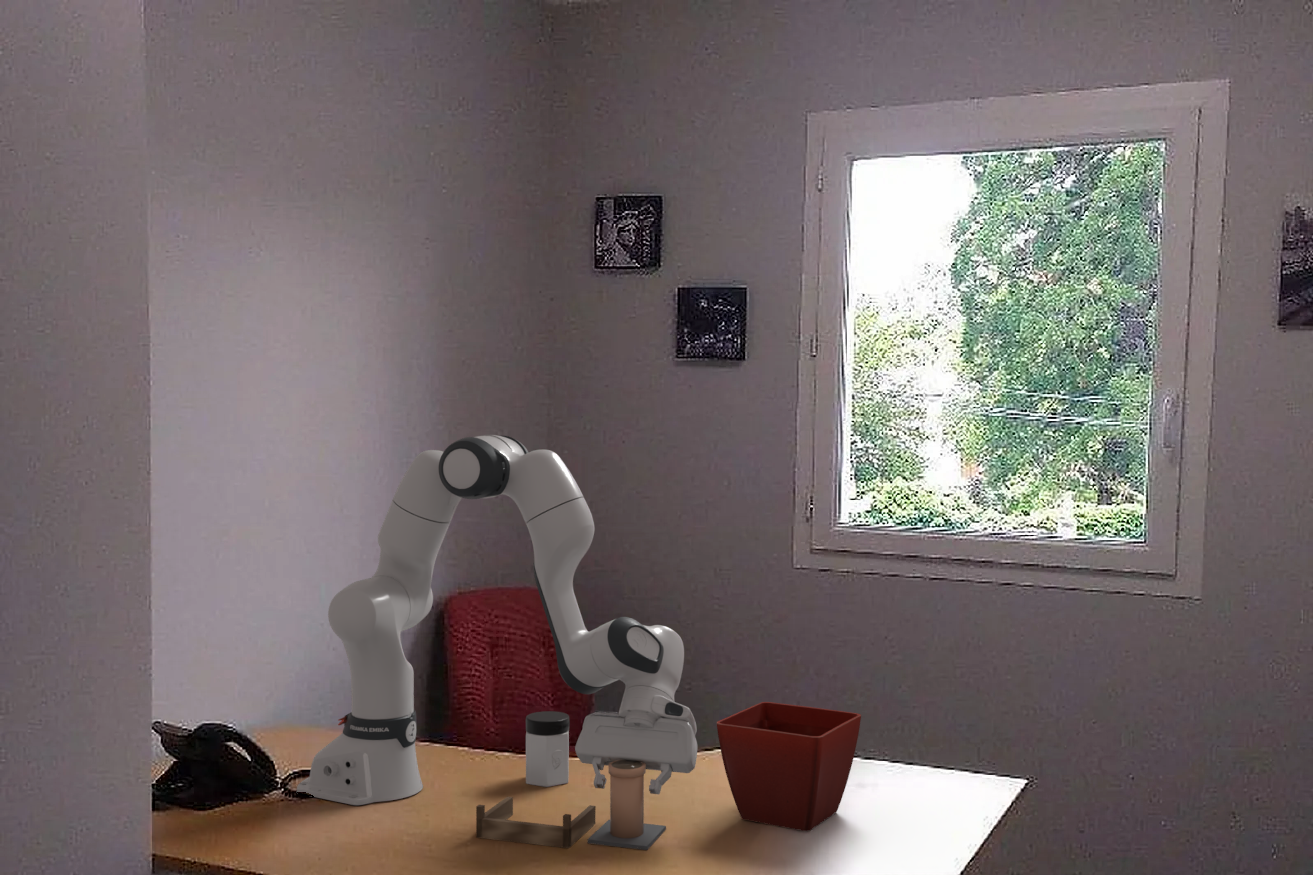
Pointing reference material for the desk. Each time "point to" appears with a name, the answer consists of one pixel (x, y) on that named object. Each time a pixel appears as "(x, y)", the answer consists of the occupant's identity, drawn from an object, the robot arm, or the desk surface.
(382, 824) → the desk surface
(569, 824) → the low fence
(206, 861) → the desk surface
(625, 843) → the mat
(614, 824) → the pot
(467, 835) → the desk surface
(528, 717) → the jar
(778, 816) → the plant pot
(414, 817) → the desk surface
